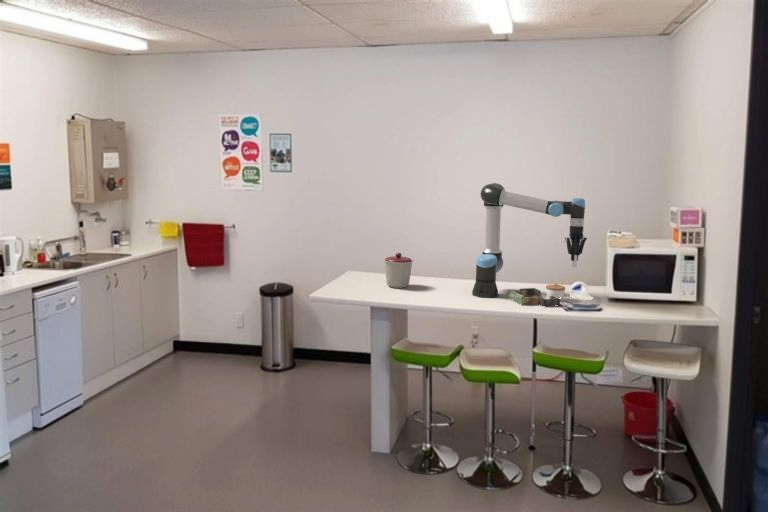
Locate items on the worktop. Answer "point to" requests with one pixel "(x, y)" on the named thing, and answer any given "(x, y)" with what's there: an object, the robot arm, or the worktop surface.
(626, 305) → the worktop surface
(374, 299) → the worktop surface
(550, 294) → the lidded jar
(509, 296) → the trap box
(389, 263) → the canister
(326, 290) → the worktop surface
